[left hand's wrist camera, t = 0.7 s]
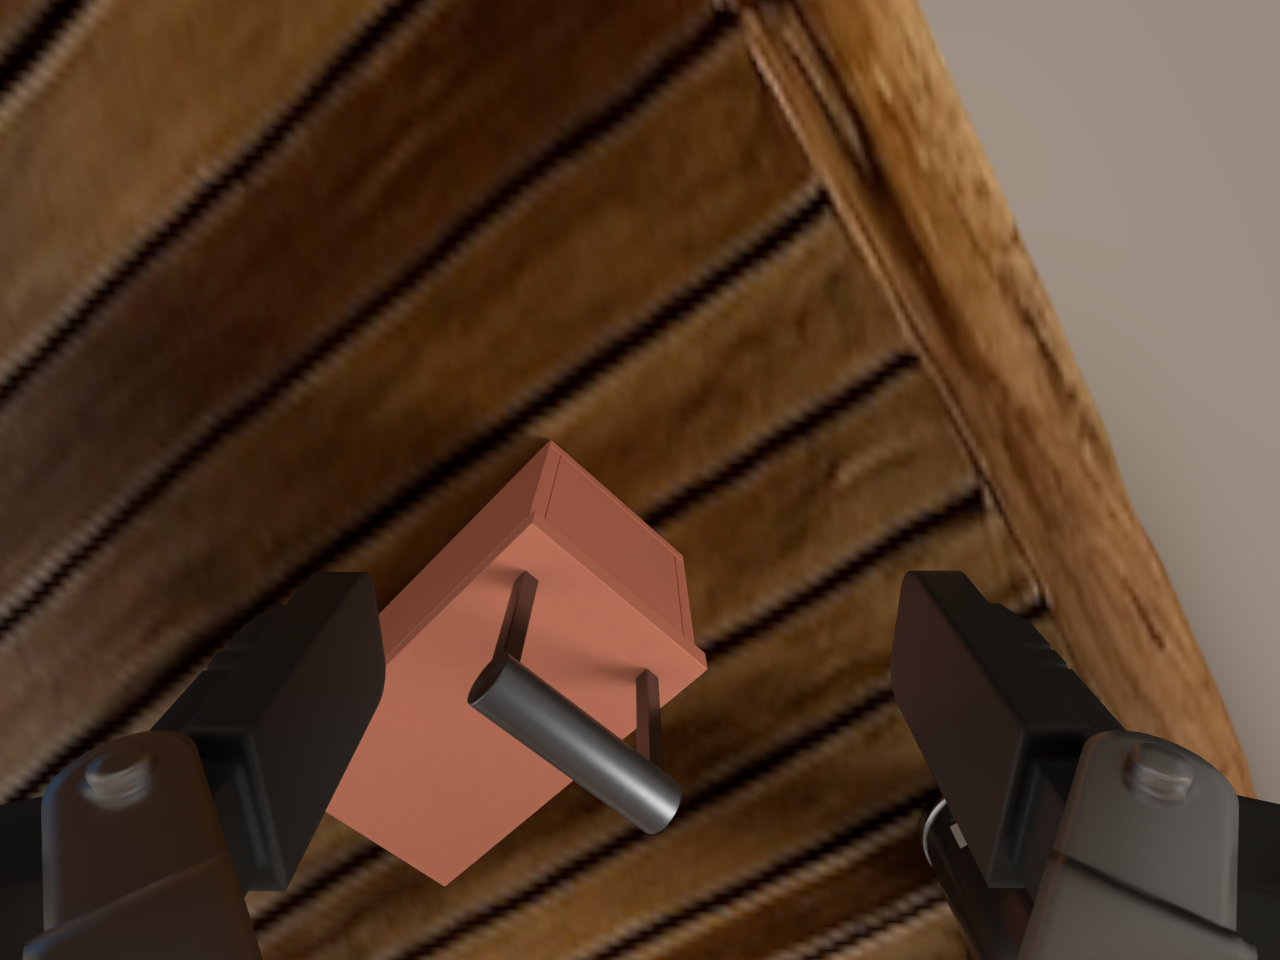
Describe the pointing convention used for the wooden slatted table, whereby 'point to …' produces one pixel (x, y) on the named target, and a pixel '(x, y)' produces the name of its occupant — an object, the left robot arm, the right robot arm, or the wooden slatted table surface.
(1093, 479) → the wooden slatted table surface
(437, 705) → the lid
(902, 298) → the wooden slatted table surface
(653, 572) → the chest
